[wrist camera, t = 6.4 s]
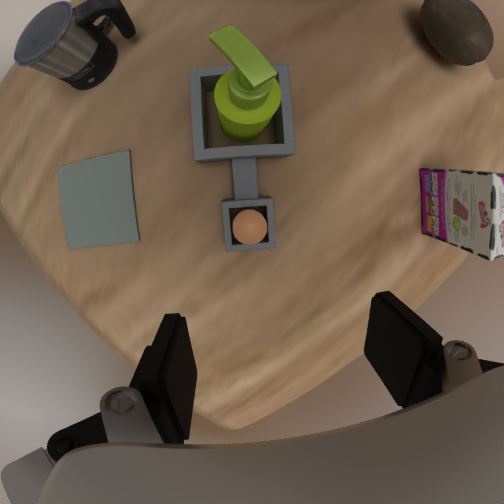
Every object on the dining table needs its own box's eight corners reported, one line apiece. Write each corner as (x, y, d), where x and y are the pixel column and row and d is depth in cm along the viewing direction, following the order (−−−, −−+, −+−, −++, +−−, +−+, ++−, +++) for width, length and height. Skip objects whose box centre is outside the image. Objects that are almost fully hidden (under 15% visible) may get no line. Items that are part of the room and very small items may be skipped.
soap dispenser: (243, 88, 32) (254, 8, 13) (273, 126, 34) (317, 77, 14) (207, 111, 32) (181, 47, 13) (237, 150, 34) (242, 121, 15)
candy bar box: (440, 230, 39) (507, 256, 24) (420, 233, 39) (489, 263, 24) (438, 167, 36) (510, 173, 21) (418, 167, 36) (493, 173, 20)
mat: (59, 167, 32) (57, 167, 32) (130, 150, 33) (129, 149, 32) (70, 248, 36) (68, 249, 36) (140, 240, 37) (139, 241, 36)
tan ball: (231, 209, 34) (231, 212, 31) (263, 206, 34) (266, 209, 31) (234, 240, 35) (234, 246, 32) (265, 237, 35) (268, 243, 32)
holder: (196, 84, 31) (189, 69, 25) (279, 79, 32) (287, 64, 26) (208, 245, 38) (203, 258, 32) (289, 238, 38) (299, 250, 32)
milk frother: (83, 102, 30) (24, 79, 16) (48, 55, 26) (-2, 31, 12) (153, 38, 28) (121, -14, 14) (108, -1, 24) (74, -43, 10)
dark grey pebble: (451, 30, 28) (496, 11, 13) (461, 83, 32) (514, 71, 17) (399, 0, 27) (440, -32, 12) (407, 54, 30) (461, 26, 16)
